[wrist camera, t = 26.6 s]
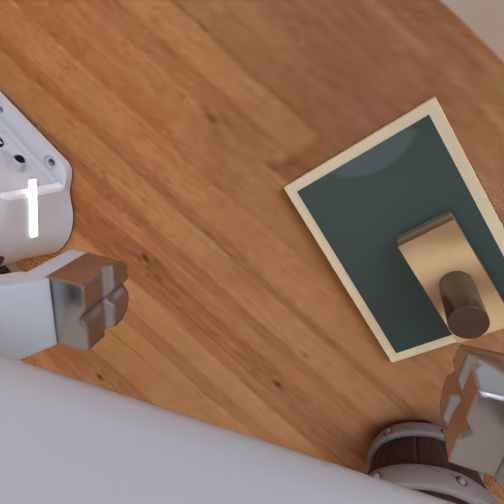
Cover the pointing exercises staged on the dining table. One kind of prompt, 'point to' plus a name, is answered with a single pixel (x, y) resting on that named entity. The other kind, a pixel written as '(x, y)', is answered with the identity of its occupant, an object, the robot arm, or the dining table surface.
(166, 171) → the dining table surface
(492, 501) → the flowerpot
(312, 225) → the chalkboard
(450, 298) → the eraser
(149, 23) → the dining table surface
